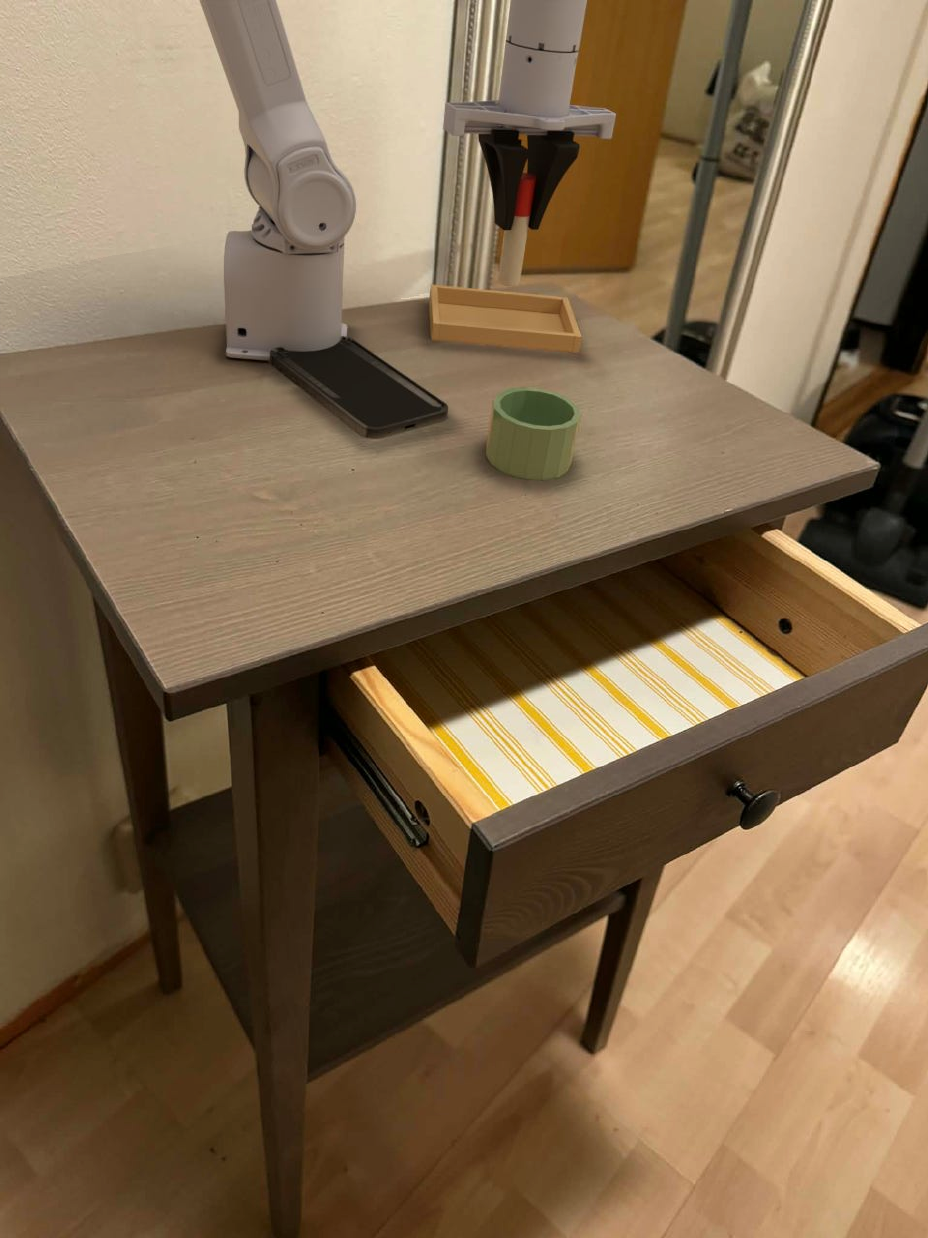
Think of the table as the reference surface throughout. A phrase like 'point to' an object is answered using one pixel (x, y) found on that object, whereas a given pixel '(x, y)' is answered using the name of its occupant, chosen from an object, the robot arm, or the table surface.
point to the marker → (517, 234)
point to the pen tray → (502, 319)
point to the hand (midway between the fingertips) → (516, 226)
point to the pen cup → (532, 433)
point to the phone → (361, 388)
